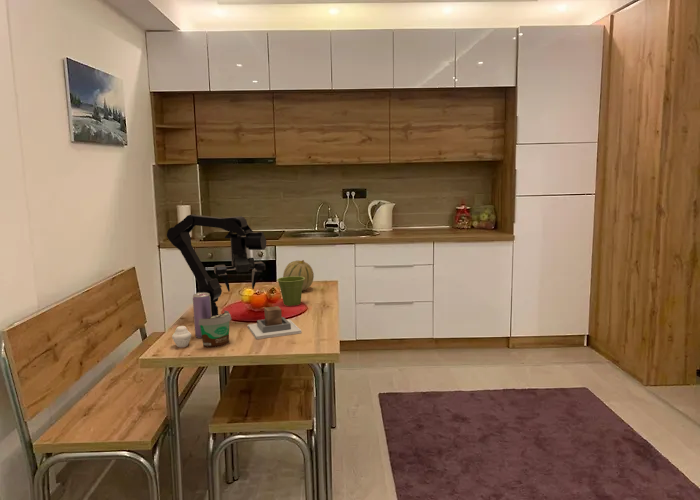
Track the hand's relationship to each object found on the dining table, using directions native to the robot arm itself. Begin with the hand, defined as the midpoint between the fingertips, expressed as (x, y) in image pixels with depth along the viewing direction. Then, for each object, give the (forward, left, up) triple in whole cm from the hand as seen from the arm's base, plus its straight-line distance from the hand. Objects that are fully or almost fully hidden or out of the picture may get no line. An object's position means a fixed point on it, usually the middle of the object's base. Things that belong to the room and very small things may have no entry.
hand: (241, 290), depth 203 cm
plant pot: (+24, +16, -12) cm, 31 cm away
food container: (-12, -26, -12) cm, 31 cm away
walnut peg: (+8, -18, -11) cm, 23 cm away
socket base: (+8, -18, -12) cm, 23 cm away
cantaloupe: (+34, +40, -12) cm, 54 cm away
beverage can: (-16, -14, -12) cm, 25 cm away
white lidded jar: (-24, -22, -12) cm, 35 cm away
